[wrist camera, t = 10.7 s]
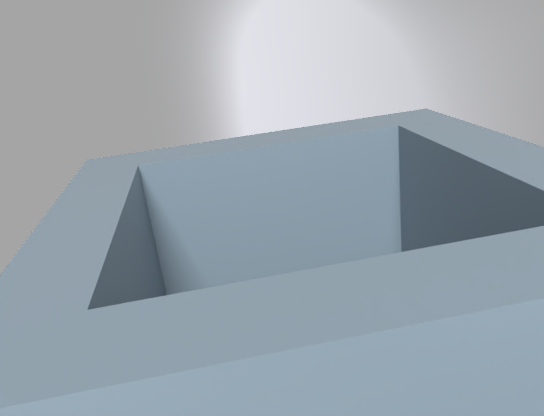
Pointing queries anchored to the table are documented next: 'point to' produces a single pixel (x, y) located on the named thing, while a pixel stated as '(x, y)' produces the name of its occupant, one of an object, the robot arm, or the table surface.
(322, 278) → the sleeve
